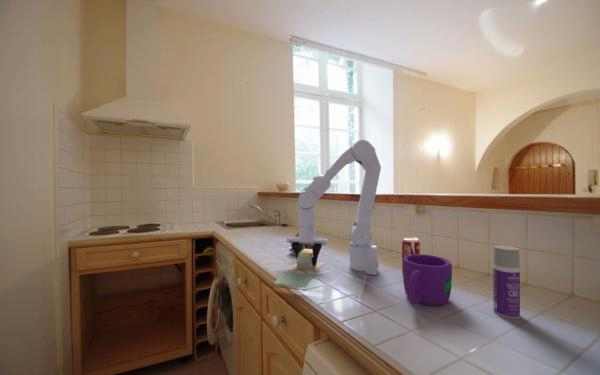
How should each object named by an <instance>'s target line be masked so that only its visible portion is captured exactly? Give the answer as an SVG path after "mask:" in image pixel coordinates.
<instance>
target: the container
mask: <svg viewBox="0 0 600 375" xmlns="http://www.w3.org/2000/svg"><path fill="white" fill-rule="evenodd" d="M492 259H493V260H492V261H493V264H492V265H493V266H492V273H493V274H492V279H493V280H492V284H493V285H492V287H493V288H492V290H493V291H492V292H493V293H492V294H493V295H492V296H493V298H492V302H493V304H492V305H493V310H492V311H493V313H494V314H495V315H497V316H499V317H502V318H505V319H510V320H519V319H520V318H521V275H520V274H521V273H520V272H521V269H520V264H521V263H520V249H519V248H518V247H515V246H510V245H502V244H501V245H500V244H499V245H498V244H497V245H493V258H492Z"/></svg>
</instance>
